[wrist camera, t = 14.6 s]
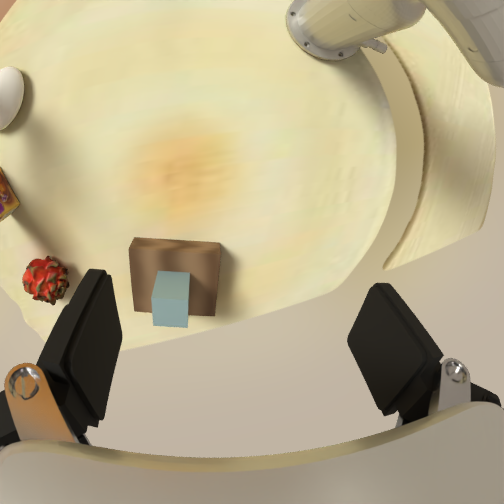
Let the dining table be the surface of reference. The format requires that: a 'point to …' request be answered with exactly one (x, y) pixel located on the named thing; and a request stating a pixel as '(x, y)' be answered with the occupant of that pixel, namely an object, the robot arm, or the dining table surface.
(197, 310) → the plinth
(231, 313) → the dining table surface
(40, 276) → the dragon fruit
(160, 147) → the dining table surface
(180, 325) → the block
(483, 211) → the dining table surface
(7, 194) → the candy box
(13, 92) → the flower in vase
